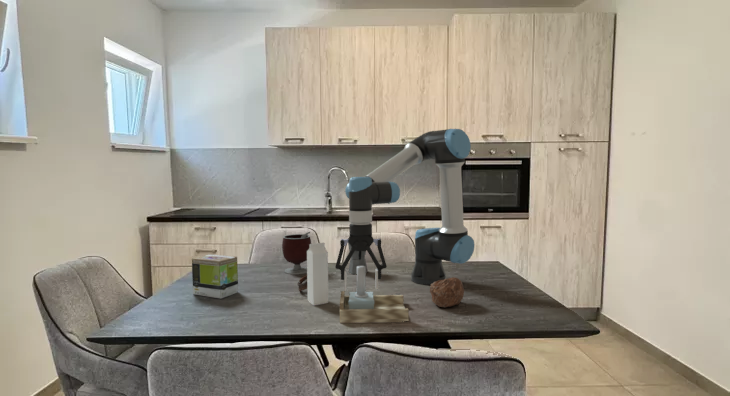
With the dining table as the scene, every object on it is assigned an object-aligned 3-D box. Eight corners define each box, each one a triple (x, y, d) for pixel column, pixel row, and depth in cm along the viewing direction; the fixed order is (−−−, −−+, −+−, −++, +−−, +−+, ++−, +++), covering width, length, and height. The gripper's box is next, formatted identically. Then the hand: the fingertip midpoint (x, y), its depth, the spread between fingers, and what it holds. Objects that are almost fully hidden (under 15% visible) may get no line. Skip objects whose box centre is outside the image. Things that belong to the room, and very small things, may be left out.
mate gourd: (276, 272, 188) (275, 231, 187) (297, 266, 200) (296, 227, 198) (300, 277, 179) (299, 233, 178) (320, 270, 191) (319, 229, 189)
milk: (328, 303, 144) (328, 243, 142) (313, 305, 141) (312, 245, 139) (322, 298, 149) (321, 241, 148) (307, 300, 146) (306, 242, 145)
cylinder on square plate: (373, 305, 137) (372, 263, 136) (374, 315, 127) (374, 270, 126) (349, 305, 137) (348, 263, 136) (348, 316, 127) (348, 270, 126)
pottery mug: (323, 296, 153) (313, 280, 151) (303, 305, 155) (292, 289, 153) (328, 280, 164) (318, 264, 162) (309, 289, 166) (298, 274, 164)
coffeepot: (346, 269, 193) (346, 233, 192) (365, 268, 194) (365, 232, 193) (350, 277, 178) (350, 238, 177) (370, 276, 179) (370, 237, 178)
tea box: (239, 292, 158) (238, 256, 157) (220, 299, 148) (219, 261, 147) (211, 287, 164) (210, 253, 163) (191, 294, 155) (190, 257, 154)
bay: (402, 302, 144) (402, 286, 143) (409, 321, 125) (409, 303, 125) (342, 303, 143) (341, 287, 143) (339, 322, 125) (339, 304, 124)
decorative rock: (458, 298, 147) (458, 272, 147) (471, 309, 136) (471, 280, 136) (424, 301, 145) (424, 274, 144) (435, 311, 134) (435, 283, 133)
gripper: (393, 221, 134) (393, 285, 136) (327, 221, 134) (328, 286, 135) (395, 224, 127) (395, 291, 128) (326, 224, 126) (327, 292, 128)
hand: (361, 288), depth 132 cm, fingers open, 10 cm apart
